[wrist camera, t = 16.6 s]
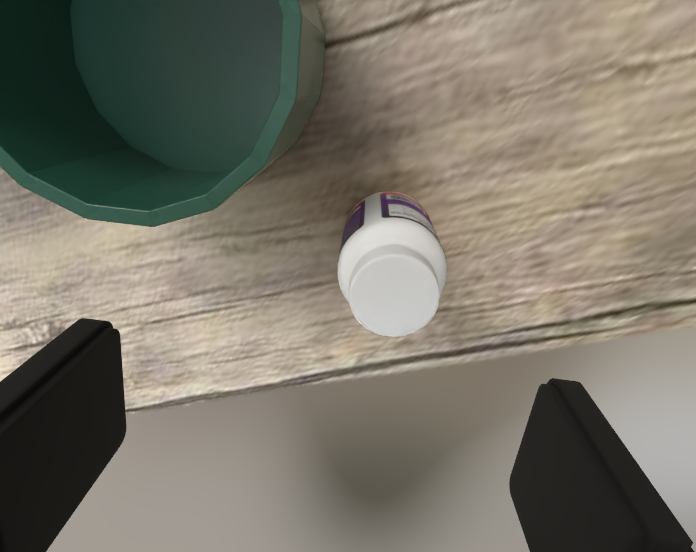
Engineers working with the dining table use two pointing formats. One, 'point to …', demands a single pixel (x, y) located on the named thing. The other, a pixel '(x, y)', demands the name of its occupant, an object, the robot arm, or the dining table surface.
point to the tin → (153, 99)
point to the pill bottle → (391, 264)
